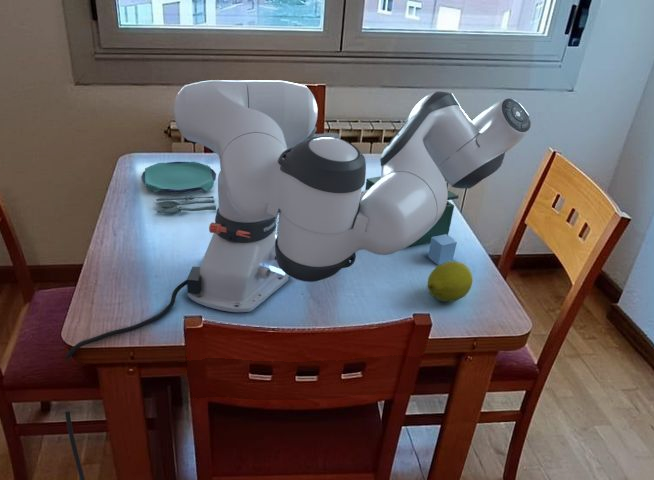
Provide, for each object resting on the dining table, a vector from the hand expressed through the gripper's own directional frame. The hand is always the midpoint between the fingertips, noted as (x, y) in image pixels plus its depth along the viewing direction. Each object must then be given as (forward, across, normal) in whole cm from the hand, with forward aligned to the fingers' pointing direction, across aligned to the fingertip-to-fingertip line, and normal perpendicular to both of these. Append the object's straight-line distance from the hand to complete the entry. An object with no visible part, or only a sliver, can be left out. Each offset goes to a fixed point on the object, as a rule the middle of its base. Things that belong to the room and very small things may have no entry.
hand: (430, 181), depth 138 cm
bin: (+15, 0, -5) cm, 16 cm away
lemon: (-6, -10, -27) cm, 29 cm away
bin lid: (+8, 0, +1) cm, 8 cm away
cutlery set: (+42, -45, +22) cm, 65 cm away
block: (+4, -1, -17) cm, 18 cm away
